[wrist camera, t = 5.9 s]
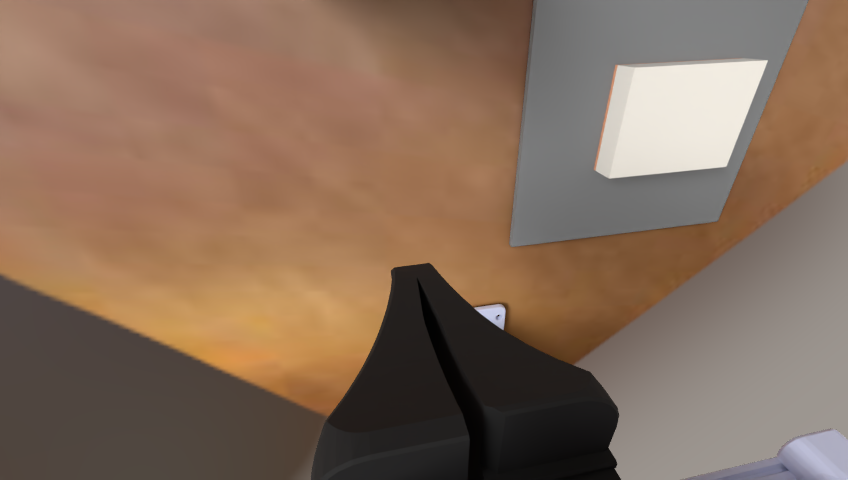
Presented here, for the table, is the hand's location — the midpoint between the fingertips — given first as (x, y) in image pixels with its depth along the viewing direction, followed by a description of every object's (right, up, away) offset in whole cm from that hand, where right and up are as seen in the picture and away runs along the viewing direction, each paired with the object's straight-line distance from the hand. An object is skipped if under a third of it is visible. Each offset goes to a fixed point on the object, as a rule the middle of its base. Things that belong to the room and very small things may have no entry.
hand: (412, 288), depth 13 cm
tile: (+15, +9, +9) cm, 20 cm away
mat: (+14, +9, +10) cm, 19 cm away
